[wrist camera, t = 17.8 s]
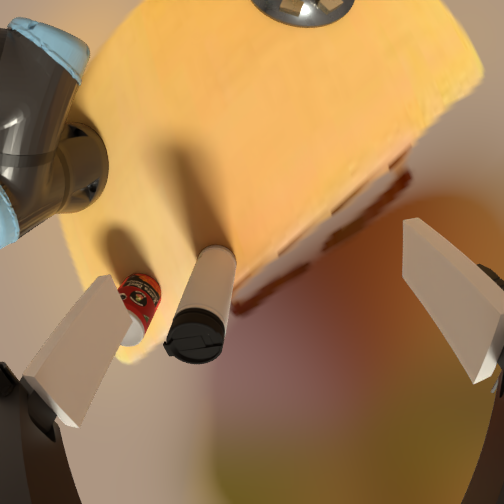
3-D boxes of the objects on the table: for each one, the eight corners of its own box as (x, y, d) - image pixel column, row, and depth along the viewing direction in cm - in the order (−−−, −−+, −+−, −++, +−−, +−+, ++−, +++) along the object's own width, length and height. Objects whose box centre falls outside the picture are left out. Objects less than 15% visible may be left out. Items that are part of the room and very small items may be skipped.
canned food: (170, 288, 50) (151, 328, 40) (150, 315, 53) (131, 354, 43) (134, 263, 48) (108, 298, 38) (117, 292, 51) (92, 328, 41)
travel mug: (191, 248, 47) (153, 329, 29) (231, 240, 46) (212, 322, 28) (202, 282, 49) (175, 370, 31) (240, 275, 49) (229, 365, 31)
